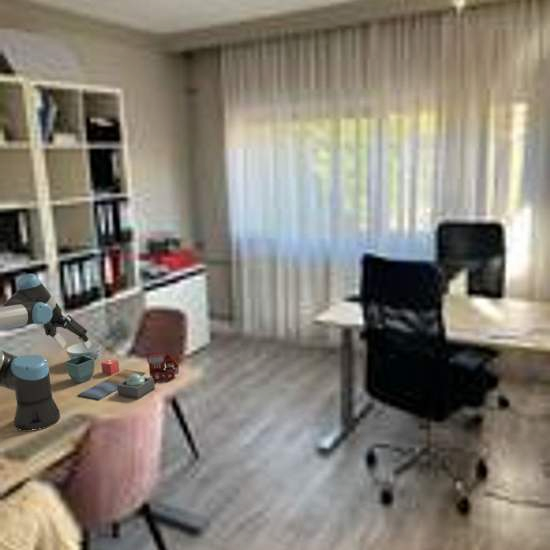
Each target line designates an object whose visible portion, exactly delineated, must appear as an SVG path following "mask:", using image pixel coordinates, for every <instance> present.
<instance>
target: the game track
mask: <svg viewBox="0 0 550 550" xmlns="http://www.w3.org/2000/svg"><path fill="white" fill-rule="evenodd" d="M133 374H138V375H140V376H142V375H143V376H145V375H146V372H144V371H136V370H132V369H131V370H130V369H124V370H121V371H119V372H117V373H115V374H114V375H112V376H110V377H108V378H106V379H104V380H103V381H101V382H99V383H97V384H95V385H93V386H91V387H89V388H87V389H86V390H84V391H82V392H80V393H78V394H77V397H80V396H83V397H82V398H85V397H86V398H87V399H91V400H97V401H100V400H103V399H105V398H106V397H108V396H110V395H112V394H113V393H115V392H116V391H117V392H118V390H117V384H119V383H121V382H123V381H125V380H126V379H128V378H129V377H130V376H131V375H133ZM144 374H145V375H144Z"/></svg>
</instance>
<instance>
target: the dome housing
mask: <svg viewBox="0 0 550 550" xmlns="http://www.w3.org/2000/svg"><path fill="white" fill-rule="evenodd" d="M143 377H144V379H145V383H143V384H141V385H139V386H138V387H135V386H129V385H127V384H126V380H125V381H123V382H121V383H119V384H117V396H118V397H124V398H129V399H136V400H139V399H141V398H143V397H144V396H146V395H148V394H150V393H151V392H153V391H155V389H156V388H155V381H154V379H153V378H152V377H146V376H143Z"/></svg>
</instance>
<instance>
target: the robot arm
mask: <svg viewBox="0 0 550 550" xmlns="http://www.w3.org/2000/svg"><path fill="white" fill-rule="evenodd" d="M16 286H17V289H18V290H16V292H15V293H13V295H12V296H10V297H9V298H8V299H6V301H4V303H3V304H1V305H0V331H4V330H10V329H15V328H19V327H23V326H24V327H25V326H28V325H39V326H40V325H43V329H44V332H45V333H44V334H45V336H50V337H52V338H53V339H54V341H55V342H56V344H57V345H58V346H59V347H60V348H61V349H64V347H66V345H67V341H65V339H64V338H63V337H62V336H61V334H60V333H59V332H58V330H57V328H62V329H64V330H65V329H66V330H68V331H69V332H71V333H73V334H75V335H76V336H78V339H79V341H80V343H83V345H84V346H85V347H86V349H88V348H89V347H90V346H91V344H92V343H91V342H92V341H90V339H89V338H88V336H87V335H86V334H87V333H88V329H86V328H85V327H84V326H82V325H81V324H80V323H79V322H77V321H76V320H75V319H74V318H73V317H72V316H71V315H69V314H67V316H64V315H63V314H62V313H63V312H62V311H63V310H62V308H61V307H60V305H59V304H58V303H57V301H56V300H55V299H54V298H53V296H52V295H51V293H50V291H48V289H47V288H46V287H45V285H44V284H43V282H42V281H41V279H40V278H39V277H38V276H37V275H36V274H35V273H26V274H25V275H23V276H21V277H20V278H19V279H18V280H17V282H16ZM49 367H50V366H49V363H48V361H47V359H46V357H44V356H42V355H39V354H29V353H28V354H23V355H19V356H18V355H14V354H12V353H9V352H7V351H4V350H2V349H0V387H2V388H6V389H8V390H11V391H14V393H15V399H16V400H15V401H16V410H15V415H14V419H13V424H14V427H16V428H18V429H21V430H20V431H22V430H32V429H39V428H43V427H46V428H48V427H47V426H49V427H51V426H52V425H51V424H53V425H55V424H56V423H58V422H59V421H60V419H61V414H60V410H59V407H58V405H57V404H56V402H55V400H54V399H53V393H52V385H51V376H50V368H49ZM54 423H55V424H54ZM50 425H51V426H50ZM16 428H15V429H16ZM18 429H17V430H18ZM43 429H44V428H43ZM39 430H40V429H39Z"/></svg>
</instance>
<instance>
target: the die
mask: <svg viewBox="0 0 550 550" xmlns="http://www.w3.org/2000/svg"><path fill="white" fill-rule="evenodd" d="M100 366H101V373H102V375H105V374H106V375H107V376H111V375H112V376H114V375H116V374H118V373H119V372H120V366H119V360H117V359H112V358H109V359H107V360H105V361H103V362H101V363H100ZM113 374H114V375H113Z"/></svg>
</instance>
